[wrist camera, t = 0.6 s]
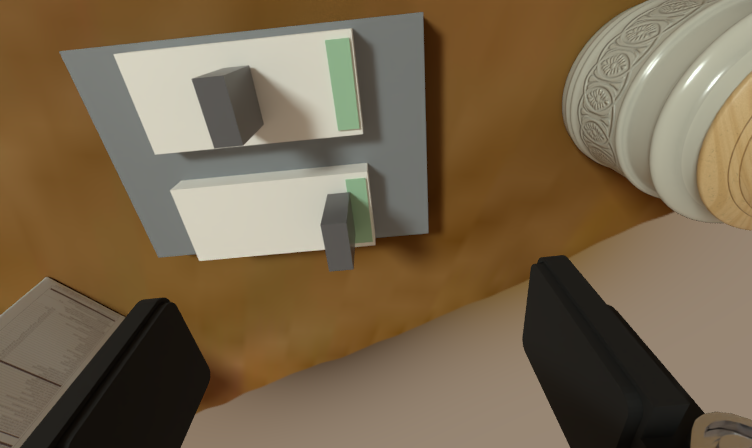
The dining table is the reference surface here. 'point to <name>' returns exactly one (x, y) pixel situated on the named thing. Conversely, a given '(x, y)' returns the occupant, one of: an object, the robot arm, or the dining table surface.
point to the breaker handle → (338, 232)
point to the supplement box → (45, 353)
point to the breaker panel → (374, 145)
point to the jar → (671, 104)
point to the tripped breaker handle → (229, 105)
